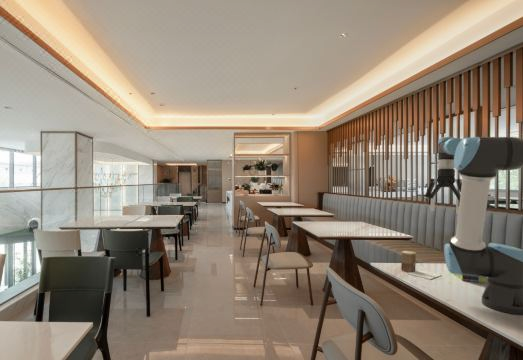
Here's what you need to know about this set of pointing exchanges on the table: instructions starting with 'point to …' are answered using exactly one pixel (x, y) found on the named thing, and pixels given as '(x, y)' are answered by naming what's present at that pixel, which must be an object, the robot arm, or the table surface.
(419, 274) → the grey mat
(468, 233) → the robot arm
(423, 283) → the table surface
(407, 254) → the bronze block
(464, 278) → the protein box
